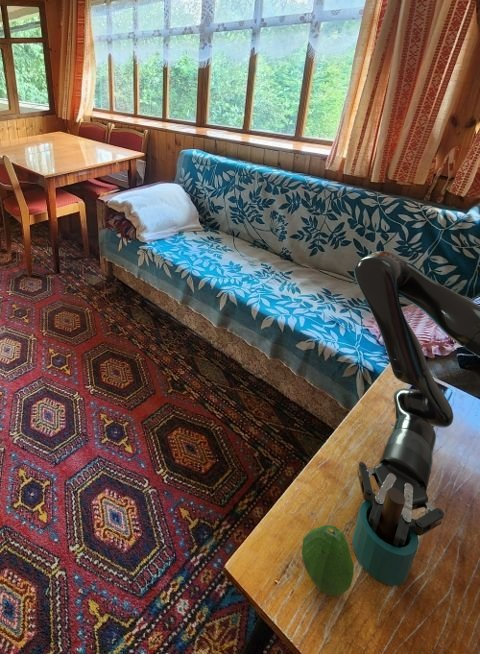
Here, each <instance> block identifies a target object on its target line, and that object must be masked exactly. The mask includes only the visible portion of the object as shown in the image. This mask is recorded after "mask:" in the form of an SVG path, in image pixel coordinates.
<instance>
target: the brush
mask: <svg viewBox="0 0 480 654" xmlns="http://www.w3.org/2000/svg"><path fill="white" fill-rule="evenodd" d="M405 501H406V500H405V497H404V495H403V494H402V493H401V492H400V491H399V490H397V489H395V488H388V489H387V492H386V496H385V500H384V503H383V507H382V513H381V516H380V520H379V523H378V527H377V530H376V531H375V530H374V529H372V527H371V529H372V530H373V532H374V533H375V534H376V535H377V536H378V537H379V538H380V539H381V540H383V541H384V542H385V543H387V544H390V545H392V546H394V547H399V545H398V546H397V545H395V544H394V543H393V542H394V538H395V534H396V531H397V527H398V524H399V522H400V518H401V515H402V512H403V508H404V505H405Z"/></svg>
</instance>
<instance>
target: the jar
mask: <svg viewBox="0 0 480 654" xmlns="http://www.w3.org/2000/svg"><path fill="white" fill-rule="evenodd" d="M371 510H372V505H371V504H370V503H369V502H367V501H365V500H364V501H362V502H361V503H360V506H359V509H358V513H357V517H356V523H355V526H354V530H353V534H352V549H353V552H354V554H355V557H356V560H358V562H359V564H360V565H361V566H362V568H363V569H364V570H365V571H366V572H367V573H368V574H369V575H370V576H371V577H373V578H374V579H376V580H377V581H379V582H380V583H382V584H384V585H387V586H391V587H397V586H401V585H403V584H404V583H405V582H406V581H407V579H408V578H409V574H410V572H411V568H412V566H413V563H414V560H415V557H416V554H417V551H418V547H419V543H420V542H419V536H418V535H417V534H415V532H414V531H411V530H409V531H408V533H407V538H406V541H405V544H404V545H403V546H402V545H401V544H399V547H394V546H392V545H390V544H387V543H385V542H384V541H383V540H381V539H380V538H379V537H378V536H377V535H376V534H375V533H374V532H373V530H372V529H371V527H372V524H371V523H369V516H370V513H371Z"/></svg>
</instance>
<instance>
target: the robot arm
mask: <svg viewBox="0 0 480 654" xmlns="http://www.w3.org/2000/svg"><path fill="white" fill-rule="evenodd" d="M353 275H354V278H355V281H356V283H357V285H358V288H359V289H360V291H361V293H362V295H363V297H364V299H365V301H366V302H367V305H368V307H369V310H370V312H371V313H372V316H373V318H374V321H375V323H376V325H377V328H378V330H379V333H380V336H381V338H382V342H383V344H384V348H385V351H386V354H387V358H388V361H389V364H390V367H391V370H392V374H393V375H394V377H395V378H396V379H397V381H400V382H402V383H404V384H407V385H409V386H412V387H415V388H416V389H414V388H413V389H412V388H399V389H397V390H396V391H394V394H393V397H392V399H393V405H394V413H395V414H394V416H395V417H394V424H393V427H392V430H391V432H390V434H389V436H388V438H387V439H386V442H385V445H384V448H383V451H382V454H381V457H380V460H379V463H378V464H377V465H375V466H374V467H370V466H367V465H366V464H365V462H363V461H359V463H358V466H357V477H358V482H359V485H360V490H361V494H362V499H363V500H364V501H367V502H369V503H370V504H371V505H372V510H371V513H370V516H369V523H371V524H372V529H374V530H375V531H376V530H377V527H378V523H379V520H380V516H381V513H382V507H383V503H384V500H385V496H386V492H387V489H388V488H395V489H397V490H399V491H400V492H401V493H402V494H403V495H404V497H405V500H406V501H405V505H404V508H403V512H402V515H401V518H400V522H399V524H398V527H397V531H396V534H395V538H394V542H393V543H394V544H395V545H397V546H398V545H399V544H401V545H402V546H403V545H404V544H405V541H406V538H407V533H408V531H409V530H411V531H414V532H415V534H417V535H418V537H422V536H423V535H424V534H427V533H429V532H430V531H432V530H433V529H435V528H437V527H438V526H441V525H442V522H443V520H444V517H445V512H444V511H443V509H441V508H439V507H435V506H434V505H433V504H432V503H431V502H430V501H429V496H428V493H427V491H428V486H429V482H430V477H431V474H432V468H433V462H434V460H433V459H434V458H433V456H434V451H435V447H436V443H437V433H436V431H435V428H434V427H436V428H442V429H446V428H449V427H450V426H452V424H453V422H454V411H453V408H452V406H451V404H450V402H449V401H448V399H447V397H446V395H445V394H444V393H443V390H441V388H440V387H439V385H438V383H437V382H436V380H435V378H434V377H433V375H432V374H431V371H430V369H429V365H428V361H427V359H426V356H425V353H424V351H423V348H422V344H421V343H420V341H419V338H418V337H417V335H416V333H415V332H414V330H413V328H412V327H411V326H410V324H409V322H408V320H407V318H406V316H405V314H404V312H403V309H402V306H401V305H402V304H401V302H400V301H401V300H400V297H402V298H404V299H405V300H407V301H409V302H410V303H412V304H413V305H415V306H416V307H417V308H419V309H420V310H421V311H422V312H424V314H425V315H426V316H428V318H429V319H431V321H432V322H433V323H434V324H435V325H436V326H437V327H438V328H439V329H440V330H441V331H442V332H443V333H444V334H445V335H446V336H447V337H448V338H450V339H451V340H452V341H454V342H455V343H457V344H458V345H459V346H460V347H463V348H464V349H465V350H467V351H468V352H470V353H472V354H473V355H475V357H478V358H480V305H479V304H477V303H475V302H474V301H471V300H470V299H469V298H466V297H465V296H463V295H461V294H459V293H457V292H456V291H453V290H452V289H450V288H448V287H447V286H444V285H442V284H441V283H439V282H437V281H436V280H434V279H433V278H431V277H429V276H428V275H426V274H425V273H423V272H422V271H420V270H419V269H418V268H416V267H415V266H414V265H412V264H410V263H409V262H407V261H406V260H404V259H403V258H402V257H400V256H398V255H397V254H395V253H392V252H389V251H384V250H382V251H381V250H380V251H374V252H372V253H369V254H367V255H366V256H363V257H362V258H361V259H359V260H358V261H357V262H356V264H355V265H354V269H353ZM372 477H373V478H374V480H375V483H376V485H377V487H378V489H379V491H378V492H377V494H375V493H374V491H373V487H372V483H371V480H372ZM421 508H422V509H423V508H424V509H425V511H424V515H421V516H420V517H418V518H416V519H415V518H412V511H413V510H419V509H421Z"/></svg>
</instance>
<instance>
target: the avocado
mask: <svg viewBox="0 0 480 654" xmlns="http://www.w3.org/2000/svg"><path fill="white" fill-rule="evenodd" d="M301 557H302V563H303V565H304V568H305V570H306V573H307V575H308V577H309V578H310V580H311V582H312V583H313V584H314V586H315V587H316V588H317V589H318V590H319V591H320V592H322V593H323V594H325V595H326V596H328V597H339V596H341V595H344V594H345V593H346V592H347V591H348V590H349V589H350V588H351V586H352V583H353V580H354V579H353V578H354V570H355V569H354V567H355V564H354V562H353V558H352V554H351V551H350V548H349V545H348V541H347V538H346V536H345V535H344V533H343V531H341V530H340V529H339V528H338V527H337V526H335V525H331V524H325V525H321V526H318V527H315V528H313V529H312V530H310V531H309V532H308V533H307V534H306V535H305V536H304V537H303V539H302V546H301Z"/></svg>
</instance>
